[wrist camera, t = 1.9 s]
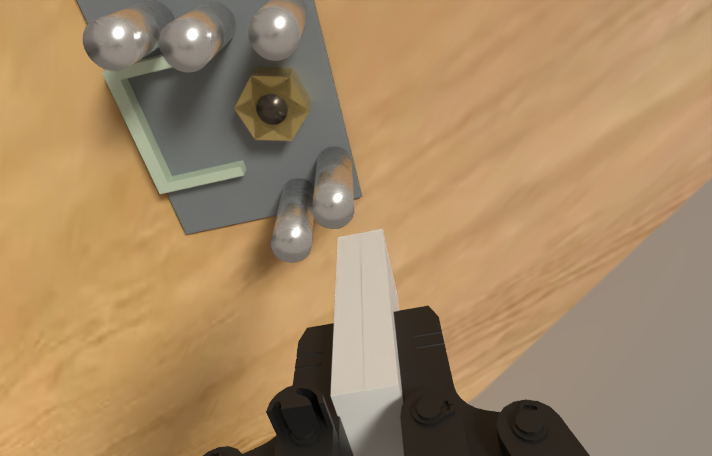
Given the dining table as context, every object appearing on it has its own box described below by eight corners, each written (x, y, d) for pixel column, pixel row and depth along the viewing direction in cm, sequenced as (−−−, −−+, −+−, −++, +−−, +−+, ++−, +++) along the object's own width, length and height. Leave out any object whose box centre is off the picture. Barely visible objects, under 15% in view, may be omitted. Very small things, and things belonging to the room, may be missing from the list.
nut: (269, 142, 39) (265, 155, 37) (229, 82, 37) (222, 91, 35) (320, 115, 38) (319, 126, 36) (283, 51, 36) (279, 59, 34)
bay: (164, 187, 41) (159, 194, 40) (108, 67, 36) (101, 72, 35) (246, 169, 41) (243, 175, 40) (200, 45, 36) (196, 48, 35)
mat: (187, 232, 44) (186, 234, 43) (71, -17, 34) (68, -17, 33) (361, 194, 42) (361, 196, 42) (295, -77, 32) (294, -77, 32)
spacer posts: (220, 226, 43) (197, 282, 36) (126, 5, 34) (73, 25, 27) (360, 196, 42) (364, 248, 35) (302, -40, 33) (292, -32, 26)
